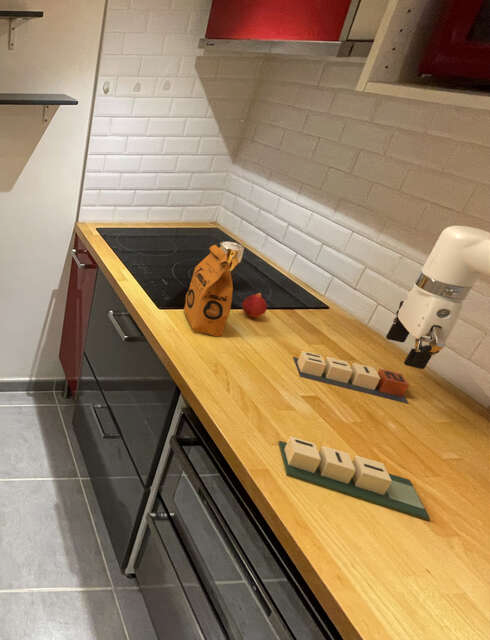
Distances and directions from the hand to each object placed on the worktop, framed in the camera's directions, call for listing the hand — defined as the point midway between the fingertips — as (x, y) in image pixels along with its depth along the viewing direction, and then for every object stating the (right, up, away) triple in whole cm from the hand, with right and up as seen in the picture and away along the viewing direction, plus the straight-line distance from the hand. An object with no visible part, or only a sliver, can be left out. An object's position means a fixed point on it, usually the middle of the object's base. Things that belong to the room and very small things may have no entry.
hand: (403, 352), depth 98 cm
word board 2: (-27, -19, -17) cm, 37 cm away
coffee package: (-29, +1, +27) cm, 40 cm away
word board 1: (-7, -8, +7) cm, 13 cm away
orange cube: (0, -9, +4) cm, 10 cm away
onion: (-13, +2, +31) cm, 34 cm away
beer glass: (-14, +9, +46) cm, 49 cm away
